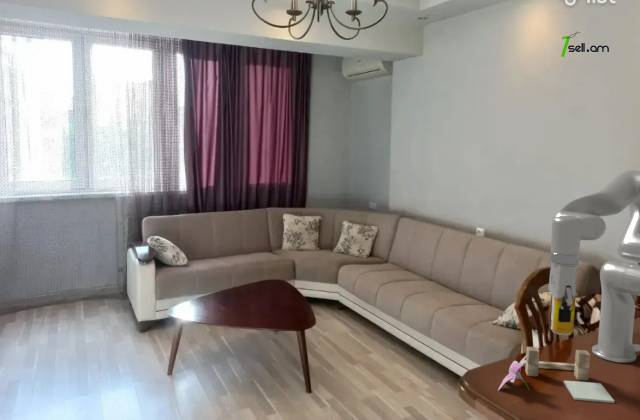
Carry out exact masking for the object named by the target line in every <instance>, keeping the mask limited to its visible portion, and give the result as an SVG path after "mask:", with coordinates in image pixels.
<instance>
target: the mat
mask: <svg viewBox="0 0 640 420" xmlns="http://www.w3.org/2000/svg"><path fill="white" fill-rule="evenodd" d="M563 384H564V386H565V387H566V389H567V390H568V392H569V394H570V395H571V396H572V398H573V400H576V401H584V402H585V401H587V402H597V403H599V402H600V403H612V404H615V399H614V398H613V397H612V396H611V395H610V393H609V392H608V391H607V390H606V388H605V387H604V386H603V385H602V383H601V382H590V381H589V382H588V381H578V380H576V381H575V380H574V381H573V380H563Z"/></svg>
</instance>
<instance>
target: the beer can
mask: <svg viewBox="0 0 640 420" xmlns="http://www.w3.org/2000/svg"><path fill="white" fill-rule="evenodd" d="M551 295H552V300H551V316H550V329H551V331H552V333H554V334H556V335H559V336H566V337H567V336H571V335H572V333H573V332H574V325H575V324H574V323H575V311H576V296H577V289H576V290H575V298H574V299H573V303H572V305H571V306H572V309H571V321H570V322H559V321H558V315H559V308H560V298H559V299H557V298H555V297H554V296H553V294H551ZM572 297H573V296H572ZM562 298H566V295H564V296H563V297H562ZM564 302H566V300H563V304H564Z"/></svg>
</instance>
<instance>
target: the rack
mask: <svg viewBox="0 0 640 420" xmlns="http://www.w3.org/2000/svg"><path fill="white" fill-rule="evenodd" d="M525 351H526V352H525V356H526V355H527V356H526V358H525V360H526V362H525V363H524V364H523V365H522V366H521V367H524V368H525V369H524V370H525V373H526V376H527V377H536V376H537V377H539V369H550V370H551V369H552V370H561V371H562V370H564V371H574V372H573V376H574V377H575V379H576V381H589V376H590V375H589V373H590V363H591V362H590V361H591V354H590V353H589V351H587V350H584V349H583V350H582V349H581V350H580V349H575V355H574V363H568V362H555V361H554V362H553V361H542V360H541V361H540V350H539V348H538V347H537V346H526V349H525Z"/></svg>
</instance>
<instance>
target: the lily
mask: <svg viewBox="0 0 640 420" xmlns="http://www.w3.org/2000/svg"><path fill="white" fill-rule="evenodd" d="M526 356H527V355H526V354H525V356H524V357H523V358H522V359H521V360H520V361H519V362H518V361H517V360H514V361H512V363H511V364H510V366H509V368H508V374H507V375H505V377H504V378H503V380H502V382H501V383H500V385H499V387H498V391H500V389H501V388H503V386H504V385H505V384H506V383H507V382H508V381H510V382H511V383H514V382H515V380H522V382H523V383H524V385H525V386H526V388H527V390H528V391H531V389H530V387H529V385H528V384H527V383H526V381H525V379H524V378H523V377H522V367H523V366H522V365H523V364H524V363H525V362H526Z"/></svg>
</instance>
